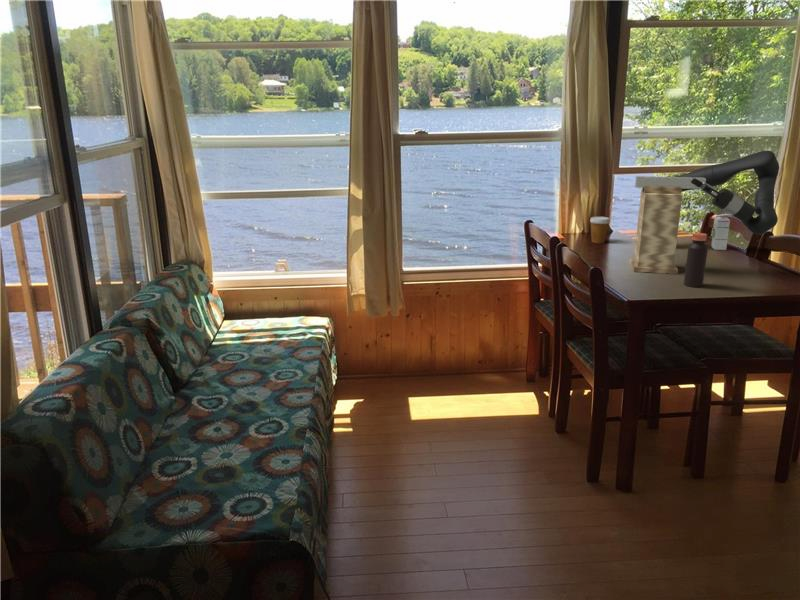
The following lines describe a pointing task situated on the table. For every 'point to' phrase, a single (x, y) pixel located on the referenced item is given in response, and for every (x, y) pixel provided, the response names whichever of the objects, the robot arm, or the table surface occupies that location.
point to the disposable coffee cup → (599, 229)
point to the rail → (667, 182)
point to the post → (657, 230)
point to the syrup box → (720, 233)
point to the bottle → (696, 261)
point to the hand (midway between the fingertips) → (691, 179)
